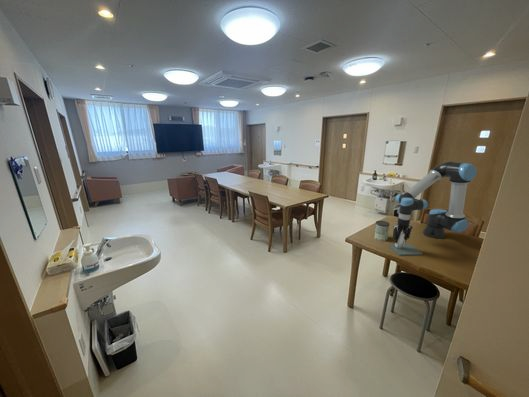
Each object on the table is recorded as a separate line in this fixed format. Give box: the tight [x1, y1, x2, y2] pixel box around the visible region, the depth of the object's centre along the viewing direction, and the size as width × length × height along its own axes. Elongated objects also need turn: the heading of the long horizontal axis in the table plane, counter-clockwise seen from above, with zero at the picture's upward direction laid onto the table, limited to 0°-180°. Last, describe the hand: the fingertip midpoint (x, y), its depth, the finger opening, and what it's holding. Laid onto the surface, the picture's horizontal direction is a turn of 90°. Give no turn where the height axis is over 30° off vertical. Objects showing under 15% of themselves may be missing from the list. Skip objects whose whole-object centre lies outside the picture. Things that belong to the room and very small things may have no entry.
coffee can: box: [373, 220, 391, 242], centre depth 181 cm, size 10×10×14 cm
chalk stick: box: [398, 231, 405, 249], centre depth 163 cm, size 4×4×12 cm
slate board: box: [388, 243, 423, 257], centre depth 163 cm, size 17×14×1 cm
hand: (399, 246), depth 164 cm, fingers closed on chalk stick, 4 cm apart
